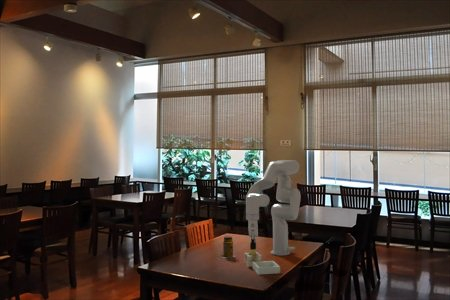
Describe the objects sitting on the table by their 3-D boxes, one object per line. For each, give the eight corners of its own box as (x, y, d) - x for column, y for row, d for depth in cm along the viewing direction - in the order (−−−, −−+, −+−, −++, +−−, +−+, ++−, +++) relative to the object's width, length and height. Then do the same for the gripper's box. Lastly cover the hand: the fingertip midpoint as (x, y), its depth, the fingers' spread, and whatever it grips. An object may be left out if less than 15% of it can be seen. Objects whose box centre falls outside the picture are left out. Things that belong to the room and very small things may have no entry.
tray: (273, 267, 223) (273, 260, 223) (280, 273, 211) (279, 266, 211) (252, 268, 220) (252, 261, 221) (258, 274, 209) (258, 267, 209)
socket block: (257, 262, 232) (257, 252, 233) (261, 266, 225) (261, 255, 225) (244, 263, 231) (244, 252, 231) (247, 267, 223) (247, 256, 223)
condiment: (235, 256, 247) (235, 237, 247) (224, 258, 242) (224, 238, 242) (229, 254, 253) (229, 235, 253) (218, 256, 248) (217, 237, 248)
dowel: (256, 259, 230) (256, 238, 230) (256, 260, 226) (256, 239, 226) (250, 259, 230) (249, 238, 230) (250, 260, 227) (249, 239, 227)
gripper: (259, 219, 220) (259, 252, 220) (259, 214, 236) (259, 245, 236) (245, 219, 220) (246, 252, 220) (246, 214, 237) (246, 245, 237)
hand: (253, 248), depth 228 cm, fingers closed on dowel, 3 cm apart
